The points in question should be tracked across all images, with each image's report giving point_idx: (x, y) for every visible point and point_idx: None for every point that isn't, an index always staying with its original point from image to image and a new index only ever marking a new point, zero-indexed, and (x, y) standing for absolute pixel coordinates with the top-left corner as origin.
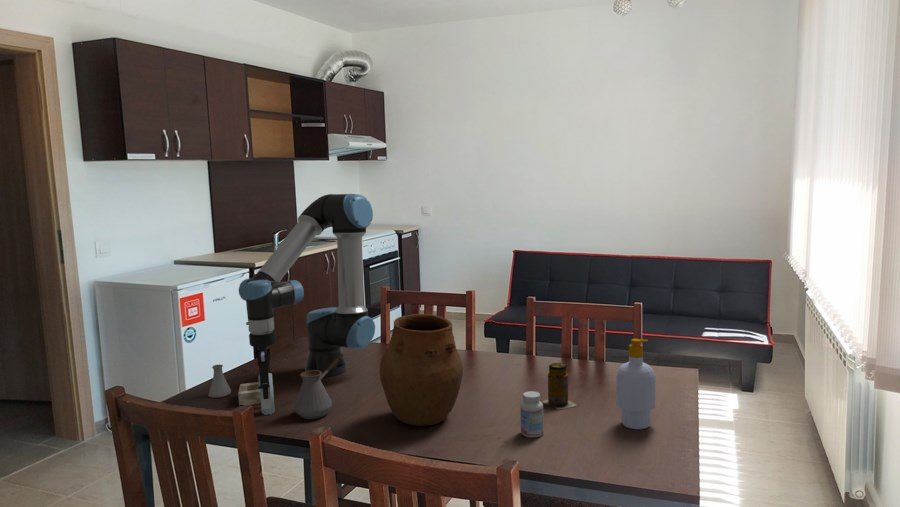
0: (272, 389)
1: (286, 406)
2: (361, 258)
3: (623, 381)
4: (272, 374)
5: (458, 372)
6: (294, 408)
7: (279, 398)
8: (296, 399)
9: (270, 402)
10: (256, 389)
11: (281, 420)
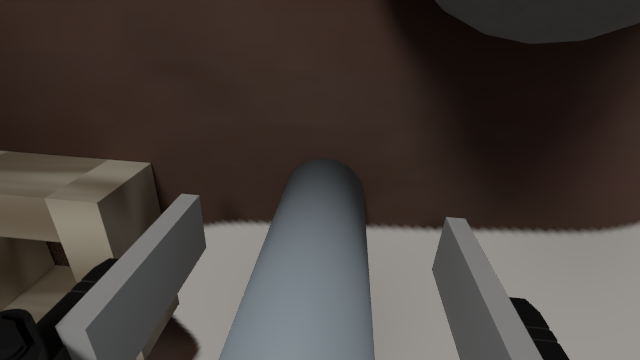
0: (335, 268)
1: (252, 79)
2: None
3: None
4: (21, 313)
5: None
6: (582, 39)
7: (85, 113)
8: (599, 7)
9: (478, 251)
10: (4, 252)
11: (507, 132)
